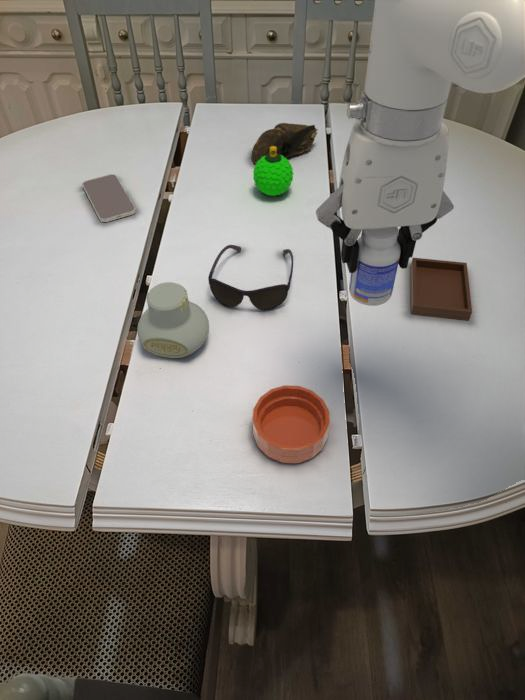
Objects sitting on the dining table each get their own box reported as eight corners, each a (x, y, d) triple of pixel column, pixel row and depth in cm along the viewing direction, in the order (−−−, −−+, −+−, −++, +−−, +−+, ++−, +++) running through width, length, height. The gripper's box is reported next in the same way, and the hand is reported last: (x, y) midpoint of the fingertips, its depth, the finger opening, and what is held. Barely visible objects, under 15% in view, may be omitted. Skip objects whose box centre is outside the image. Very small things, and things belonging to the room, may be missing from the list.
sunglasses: (206, 307, 89) (203, 285, 85) (224, 248, 99) (222, 226, 95) (287, 315, 87) (288, 292, 84) (296, 254, 97) (297, 231, 94)
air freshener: (134, 356, 82) (120, 310, 74) (151, 318, 87) (139, 271, 80) (203, 365, 81) (195, 319, 73) (215, 326, 86) (210, 279, 78)
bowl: (337, 417, 74) (340, 400, 71) (310, 476, 68) (312, 461, 65) (272, 393, 77) (272, 376, 74) (241, 448, 71) (239, 432, 68)
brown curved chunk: (263, 170, 115) (258, 138, 111) (243, 162, 122) (238, 130, 118) (325, 148, 121) (322, 116, 116) (302, 141, 127) (299, 110, 123)
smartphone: (100, 220, 104) (80, 182, 112) (101, 224, 104) (81, 186, 113) (136, 209, 106) (114, 173, 114) (137, 213, 106) (115, 177, 115)
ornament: (254, 204, 108) (252, 159, 100) (253, 182, 113) (251, 137, 106) (294, 203, 108) (295, 157, 100) (291, 181, 113) (292, 136, 106)
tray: (468, 320, 86) (472, 311, 84) (410, 314, 87) (413, 305, 86) (463, 271, 94) (466, 262, 92) (410, 266, 95) (412, 257, 93)
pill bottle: (399, 300, 66) (415, 235, 59) (361, 312, 65) (372, 248, 57) (377, 273, 69) (389, 209, 62) (340, 284, 68) (348, 220, 61)
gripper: (318, 138, 47) (309, 290, 60) (507, 125, 48) (455, 278, 61) (305, 100, 52) (299, 249, 65) (476, 89, 53) (435, 238, 66)
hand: (375, 262), depth 63 cm, fingers closed on pill bottle, 5 cm apart
